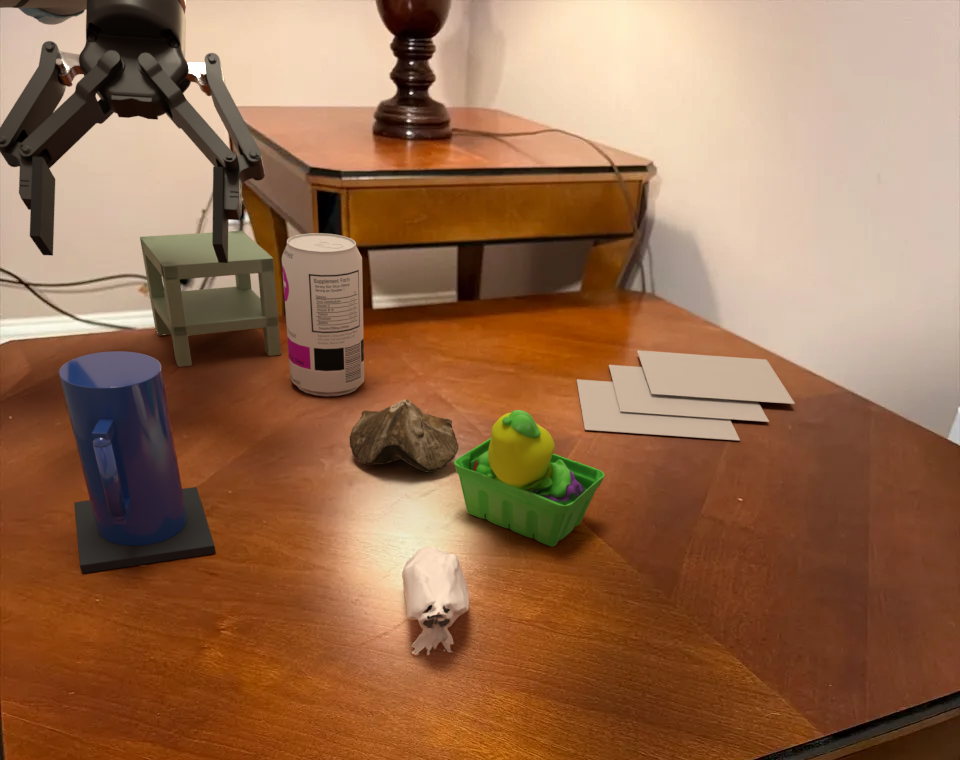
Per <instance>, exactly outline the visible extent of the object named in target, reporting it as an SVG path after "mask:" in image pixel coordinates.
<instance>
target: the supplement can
mask: <svg viewBox="0 0 960 760" xmlns="http://www.w3.org/2000/svg"><path fill="white" fill-rule="evenodd" d="M281 270H282V282H283V284H282V285H283V295H284V309H285V325H286V336H287V337H286V338H287V350H288V352H287V353H288V365H289V366H288V367H289V379H290V381H291V382H292V383H293V385H295V386H296V387H297V388H298V389H299V390H300V391H302V392H304V393H305V394H310V395H313V396H317V397H319V396H320V397H340V396H343V395H348V394H350V393H353V392H355V391H356V390H358V389H359V387H360V386H361V385H362V384H363V383H364V382H365V345H364V343H365V342H364V294H363V293H364V291H363V290H364V289H363V284H364V283H363V257H362V255H361V253H360V251H359V248H358V247H357V242H356V241H355V240H354V239H353V238H350V237H347V236H345V235H340V234H336V233H335V234H334V233H323V232H314V233H311V232H309V233H302V234H301V233H300V234H297V235H296V234H295V235H292V236H290V237H289V238H287V239H286V246H285V247H284V249H283V253H282V255H281Z"/></svg>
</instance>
